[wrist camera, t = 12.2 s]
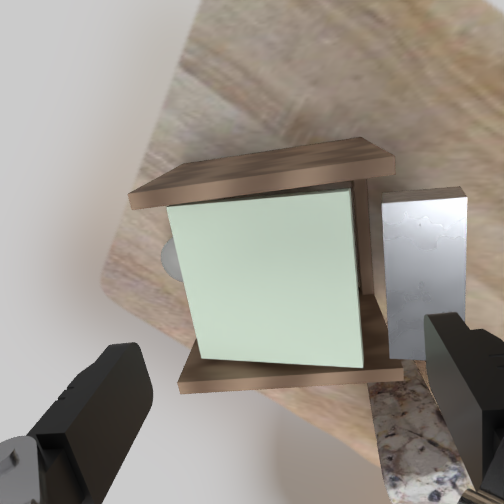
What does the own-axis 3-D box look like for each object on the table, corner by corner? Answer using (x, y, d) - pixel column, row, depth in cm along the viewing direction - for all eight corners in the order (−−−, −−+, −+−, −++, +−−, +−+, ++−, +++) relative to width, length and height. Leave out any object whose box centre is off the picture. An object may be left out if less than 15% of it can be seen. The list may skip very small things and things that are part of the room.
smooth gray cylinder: (156, 238, 40) (174, 222, 45) (165, 283, 42) (181, 263, 47) (205, 234, 40) (217, 219, 45) (212, 281, 41) (223, 261, 46)
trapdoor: (460, 171, 27) (467, 181, 24) (457, 350, 32) (463, 374, 29) (183, 197, 34) (166, 206, 32) (214, 339, 39) (201, 358, 36)
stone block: (344, 343, 49) (374, 495, 30) (401, 322, 47) (469, 468, 28) (387, 424, 52) (437, 605, 33) (441, 407, 50) (525, 588, 32)
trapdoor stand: (360, 136, 40) (394, 155, 26) (371, 295, 46) (403, 380, 32) (182, 163, 43) (127, 193, 29) (213, 310, 49) (180, 394, 35)
